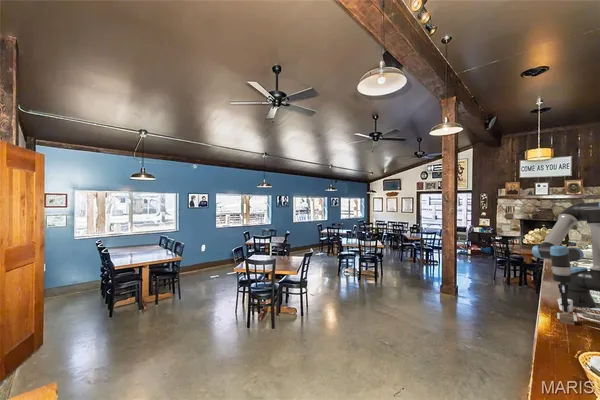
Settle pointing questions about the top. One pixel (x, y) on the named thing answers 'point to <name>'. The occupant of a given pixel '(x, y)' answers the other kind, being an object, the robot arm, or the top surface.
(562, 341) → the top surface
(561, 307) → the white cup
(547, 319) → the top surface
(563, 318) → the housing
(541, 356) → the top surface
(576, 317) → the board
